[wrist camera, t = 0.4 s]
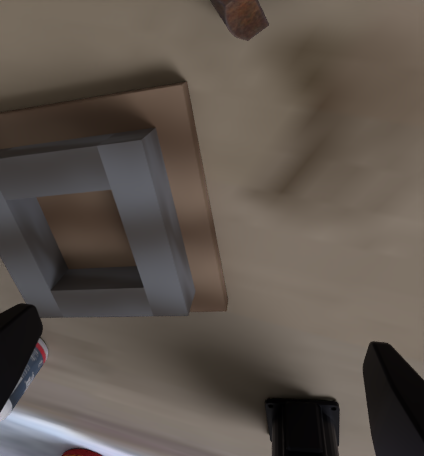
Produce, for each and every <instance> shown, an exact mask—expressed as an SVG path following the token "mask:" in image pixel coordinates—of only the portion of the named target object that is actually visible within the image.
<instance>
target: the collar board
mask: <svg viewBox="0 0 424 456" xmlns="http://www.w3.org/2000/svg"><path fill="white" fill-rule="evenodd" d="M0 257H1V259H2V261H3V263H4V264H5V266H6V268H7V270H8V272H9V273H10V275H11V277H12V279H13V281H14V282H15V284H16V286H17V288H18V290H19V291H20V293H21V295H22V297H23V299H24V300H25V302H26V304H32V305H34V306H35V307H36V308H37V311H38V313H39V316H40V318H58V317H130V316H188V315H189V312H212V311H226V310H227V304H228V297H227V292H226V286H225V281H224V276H223V271H222V265H221V260H220V255H219V249H218V244H217V239H216V233H215V228H214V223H213V217H212V212H211V207H210V201H209V196H208V191H207V186H206V180H205V175H204V170H203V164H202V159H201V154H200V148H199V143H198V138H197V132H196V127H195V122H194V116H193V111H192V106H191V101H190V95H189V90H188V85H187V82H181V83H175V84H169V85H163V86H157V87H151V88H145V89H139V90H133V91H127V92H121V93H115V94H109V95H103V96H97V97H91V98H85V99H79V100H73V101H67V102H61V103H55V104H49V105H43V106H37V107H31V108H25V109H19V110H13V111H7V112H0Z"/></svg>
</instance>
